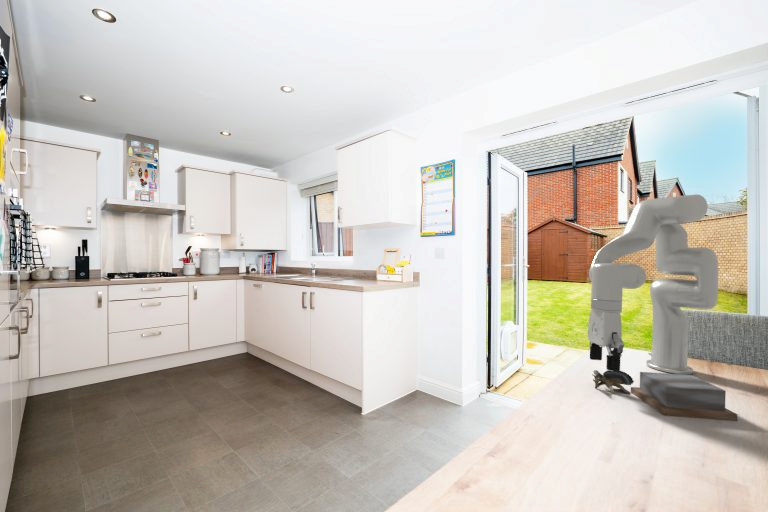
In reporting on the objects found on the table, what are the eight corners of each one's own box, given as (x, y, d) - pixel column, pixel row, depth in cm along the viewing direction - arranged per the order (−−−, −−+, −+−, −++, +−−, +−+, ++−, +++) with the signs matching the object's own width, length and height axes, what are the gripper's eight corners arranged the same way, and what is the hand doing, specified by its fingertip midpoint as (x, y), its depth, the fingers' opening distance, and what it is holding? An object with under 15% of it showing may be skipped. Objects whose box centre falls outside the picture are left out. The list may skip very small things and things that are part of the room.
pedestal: (630, 392, 97) (631, 369, 97) (692, 396, 95) (692, 373, 95) (664, 415, 83) (664, 389, 83) (737, 420, 81) (738, 393, 81)
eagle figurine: (601, 392, 94) (638, 389, 92) (592, 366, 98) (627, 363, 96) (596, 397, 100) (630, 395, 98) (587, 373, 104) (620, 370, 102)
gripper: (579, 301, 107) (577, 355, 107) (607, 309, 90) (605, 373, 90) (604, 302, 106) (602, 357, 106) (638, 311, 89) (636, 376, 89)
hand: (603, 364), depth 98 cm, fingers open, 9 cm apart
